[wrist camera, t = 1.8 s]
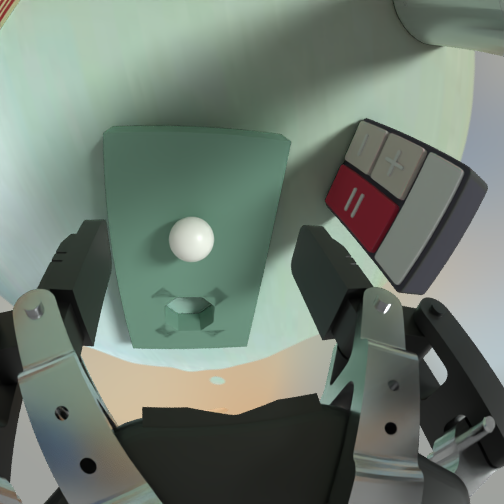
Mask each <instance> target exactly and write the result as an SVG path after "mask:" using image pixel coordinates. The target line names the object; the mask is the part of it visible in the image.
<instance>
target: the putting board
mask: <svg viewBox="0 0 504 504" xmlns="http://www.w3.org/2000/svg"><path fill="white" fill-rule="evenodd" d="M290 145H291V141H290V140H288V139H287V138H286V137H284V136H283V135H281V134H275V133H267V132H258V131H249V130H239V129H228V128H214V127H196V126H115V127H111V128H110V129H108V130H107V131H106V132H104V133H103V153H104V176H105V191H106V203H107V213H108V222H109V230H110V238H111V245H112V252H113V258H114V264H115V270H116V276H117V281H118V286H119V291H120V296H121V301H122V305H123V310H124V314H125V318H126V322H127V326H128V330H129V334H130V338H131V342H132V346H133V348H142V349H198V348H226V347H244V346H247V343H248V339H249V334H250V330H251V326H252V321H253V317H254V313H255V308H256V304H257V299H258V295H259V290H260V286H261V282H262V277H263V273H264V268H265V264H266V259H267V254H268V250H269V245H270V241H271V236H272V231H273V227H274V222H275V217H276V213H277V208H278V203H279V199H280V194H281V189H282V184H283V180H284V175H285V170H286V165H287V160H288V155H289V150H290ZM186 217H198V218H200V219H203V220H204V221H205V222H207V223H208V224H209V226H210V227H211V229H212V231H213V234H214V244H213V248H212V250H211V252H210V253H209V254H208V255H207V256H206V257H205V258H204V259H202V260H200V261H197V262H186V261H183V260H181V259H179V258H178V257H177V256H175V255H174V253H173V252H172V250H171V248H170V244H169V235H170V231H171V229H172V227H173V226H174V225H175V223H176V222H178V221H179V220H181V219H183V218H186ZM177 297H202V298H204V299H205V300H207V301H208V302H209V303H211V306H210V307H208V308H207V309H205V310H204V311H202V312H201V313H199V314H178V313H176V312H175V311H173V310H172V309H170V308H169V307H167V306H166V305H167V304H168V303H170V302H171V301H172V300H174V299H175V298H177Z"/></svg>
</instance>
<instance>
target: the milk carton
mask: <svg viewBox="0 0 504 504" xmlns="http://www.w3.org/2000/svg"><path fill="white" fill-rule="evenodd" d="M19 1H20V0H0V29H1V27H2V26H3V24H4V23H5V21H6V20H7V18H8V17H9V15H10V14H11V12H12V11H13V10H14V8H15V7H16V5H17V4H18V2H19Z"/></svg>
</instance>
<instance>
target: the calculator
mask: <svg viewBox="0 0 504 504" xmlns="http://www.w3.org/2000/svg"><path fill="white" fill-rule="evenodd" d="M487 189H488V186H487V184H486V183H485V182H484V181H483V180H482V179H481V178H480V177H479V176H478V175H477V174H476V173H475V172H474V171H473V170H472V169H471V168H470V167H468V166H467V165H465V164H463V163H461V162H460V161H458V160H456V159H454V158H453V157H451V156H449V155H447V154H445V153H443V152H441V151H439V150H438V149H436V148H434V147H432V146H430V145H428V144H426V143H423V142H421V141H419V140H417V139H415V138H413V137H411V136H409V135H406V134H404V133H402V132H400V131H397V130H395V129H393V128H390V127H388V126H385V125H383V124H380V123H378V122H375V121H373V120H370V119H367V118H365V119H364V120H363V121H361V122H360V123H359V126H358V128H357V130H356V133H355V135H354V137H353V139H352V142H351V144H350V146H349V149H348V151H347V153H346V155H345V163H344V165H343V164H342V165H341V167H340V169H339V171H338V173H337V175H336V177H335V180H334V182H333V184H332V186H331V188H330V190H329V193H328V195H327V197H326V199H325V202H326V205H327V207H328V208H329V209H330V210H331V211H332V212H333V214H334V215H335V216H336V217H337V218H338V219H339V220H340V222H341V223H342V224H343V225H344V226H345V227H346V229H347V230H348V231H349V232H350V233H351V234H352V236H353V237H354V238H355V239H356V240H357V242H358V243H359V244H360V245H361V246H362V248H363V249H364V250H365V251H366V253H367V254H368V255H369V256H370V258H371V259H372V260H373V261H374V263H375V264H376V265H377V266H378V268H379V269H380V270H381V271H382V273H383V274H384V275H385V277H386V278H387V279H388V281H389V282H390V283H391V285H392V286H393V287H394V289H395V290H396V291H397V292H399V293H407V294H418V295H423V294H425V292H426V291H427V290H428V288H429V287H430V286H431V284H432V283H433V281H434V280H435V279H436V277H437V276H438V274H439V273H440V271H441V270H442V268H443V267H444V265H445V264H446V262H447V261H448V259H449V258H450V256H451V255H452V253H453V251H454V250H455V248H456V247H457V245H458V243H459V242H460V240H461V238H462V237H463V235H464V233H465V232H466V230H467V228H468V226H469V225H470V223H471V221H472V219H473V217H474V215H475V214H476V212H477V210H478V208H479V206H480V204H481V202H482V200H483V198H484V196H485V194H486V192H487Z"/></svg>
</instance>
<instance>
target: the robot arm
mask: <svg viewBox="0 0 504 504" xmlns="http://www.w3.org/2000/svg"><path fill="white" fill-rule="evenodd" d="M393 1H394V6H395V9H396V12H397V15H398V17H399V18H400V20H401V22H402V24H403V25H404V27H405V28H406V29H407V30H408V32H409V33H410V34H411V35H412V36H414V37H415V38H416V39H417V40H419V41H421V42H422V43H425V44H429V45H439V46H447V47H455V48H462V49H468V50H474V51H480V52H485V53H490V54H494V55H499V56H503V57H504V0H393ZM111 266H112V262H111V253H110V246H109V239H108V231H107V224H106V221H105V220H84V222H83V223H82V225H81V227H80V228H79V230H78V232H77V234H71V235H69V236H68V237H67V238H66V239H65V240H64V241H62V242H61V244H60V246H59V248H58V249H57V251H56V254H55V255H54V257H53V258H52V262H50V264H49V266H48V268H47V270H46V272H45V274H44V276H43V278H42V280H41V282H40V284H39V286H38V288H37V289H35V290H31V291H29V292H27V293H25V294H23V295H22V296H21V297H20V298H19V299H18V300H17V302H16V303H15V305H14V308H13V310H12V311H7V312H3V313H0V504H22V501H21V499H20V498H19V496H18V495H16V492H15V490H14V489H13V487H12V485H11V484H10V476H11V464H12V455H13V448H14V441H15V434H16V429H17V423H18V418H19V412H20V409H21V404H22V400H23V401H24V404H25V407H26V410H27V413H28V416H29V419H30V422H31V425H32V428H33V430H34V433H35V435H36V438H37V441H38V443H39V446H40V448H41V450H42V453H43V455H44V457H45V459H46V462H47V464H48V466H49V468H50V470H51V472H52V474H53V476H54V478H55V480H56V482H57V483H58V485H59V487H58V489H57V490H56V491H55V492H54V493H53V494H52V495H51V496H50V498H49V499H48V500H47V501H46V502H45V503H44V504H470V498H469V497H470V496H471V495H472V494H473V493H474V492H475V491H476V490H477V489H478V488H479V487H480V486H481V485H482V484H483V483H484V482H485V481H486V480H487V479H488V478H489V477H490V476H491V474H492V473H493V472H494V471H496V470H498V469H499V468H501V467H503V466H504V387H503V386H502V384H501V382H500V381H499V379H498V378H497V376H496V375H495V373H494V372H493V370H492V369H491V367H490V366H489V364H488V363H487V361H486V360H485V358H484V357H483V355H482V354H481V353H480V351H479V350H478V348H477V347H476V345H475V344H474V343H473V341H472V340H471V339H470V337H469V336H468V335H467V333H466V332H465V331H464V329H463V328H462V327H461V325H460V324H459V323H458V321H457V320H456V319H455V318H454V316H453V315H452V314H451V313H450V311H449V310H448V309H447V308H446V307H445V306H444V305H443V304H442V303H441V302H439V301H437V300H436V299H433V298H424V299H422V300H421V302H420V304H419V305H418V307H417V308H411V307H405V306H402V305H401V302H400V301H399V299H398V298H397V297H396V296H395V295H394V294H392V293H391V292H389V291H387V290H385V289H383V288H379V287H373V285H372V284H371V283H370V281H369V280H368V278H367V277H366V276H365V274H364V273H363V271H362V270H361V269H360V267H359V266H358V265H356V262H355V261H354V259H353V258H351V255H350V254H349V252H348V251H347V250H346V248H345V247H344V246H342V245H341V244H340V243H338V242H337V241H336V240H334V239H332V237H331V236H330V235H329V233H328V232H327V231H326V229H325V228H324V227H323V226H310V225H303V226H302V227H301V229H300V232H299V235H298V239H297V243H296V246H295V250H294V253H293V257H292V261H291V270H292V275H293V277H294V279H295V281H296V283H297V286H298V288H299V290H300V292H301V294H302V296H303V298H304V301H305V303H306V305H307V307H308V309H309V312H310V314H311V316H312V318H313V320H314V323H315V325H316V327H317V329H318V331H319V334H320V336H321V338H322V340H328V339H335V340H336V342H337V344H336V345H335V347H334V349H333V353H332V358H331V363H330V367H329V372H328V376H327V381H326V385H325V389H324V392H323V395H322V397H321V399H320V401H319V398H318V396H317V393H315V394H309V395H304V396H298V397H292V398H286V399H280V400H276V401H274V402H271V403H269V404H266V405H264V406H261V407H258V408H255V409H253V410H250V411H247V412H245V413H242V414H239V415H228V414H221V413H215V412H209V411H203V410H198V409H193V408H188V407H185V408H184V407H183V408H157V407H156V408H155V407H143V408H142V413H143V414H142V418H140V419H136V420H133V421H130V422H127V423H124V424H122V425H120V426H118V425H117V423H116V422H115V420H114V419H113V417H112V415H111V414H110V412H109V410H108V409H107V407H106V405H105V404H104V402H103V400H102V398H101V396H100V394H99V393H98V391H97V389H96V387H95V385H94V383H93V381H92V379H91V377H90V375H89V372H88V370H87V368H86V366H85V364H84V362H83V359H82V357H81V351H82V346H94V342H95V337H96V332H97V327H98V322H99V318H100V313H101V309H102V305H103V301H104V297H105V293H106V289H107V285H108V282H109V278H110V274H111ZM431 348H433V349H434V350H435V352H436V353H437V355H438V356H439V358H440V359H441V361H442V362H443V364H444V365H445V367H446V369H447V373H448V376H447V379H446V381H445V382H444V383H443V384H442V385H441V386H440V385H439V383H438V381H437V380H436V378H435V377H434V375H433V373H432V372H431V370H430V369H429V367H428V365H427V364H426V362H425V361H424V359H423V358H424V356H425V355H426V354H427V353H428V352H429V351H430V349H431ZM420 426H421V428H422V430H423V432H424V434H425V436H426V438H427V440H428V441H429V443H430V446H431V448H432V449H433V452H432V453H430V454H429V455H428V456H427V458H426V457H424V456H422V455H421V454H419V453H418V447H419V429H420Z"/></svg>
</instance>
